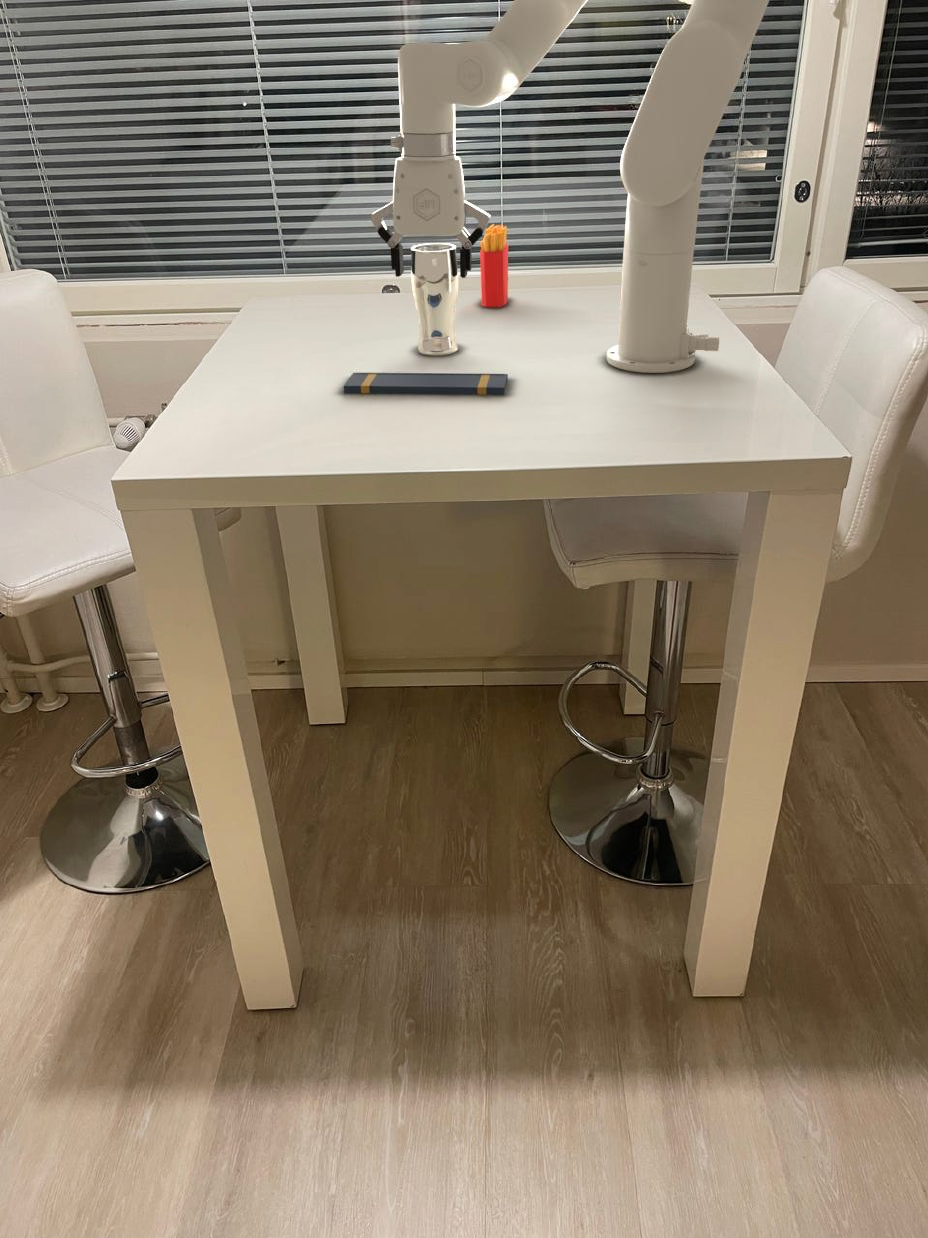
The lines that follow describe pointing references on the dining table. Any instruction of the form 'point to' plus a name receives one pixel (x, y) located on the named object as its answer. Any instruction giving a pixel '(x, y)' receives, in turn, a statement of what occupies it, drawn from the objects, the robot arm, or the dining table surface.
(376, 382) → the blue striped flat box
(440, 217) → the robot arm
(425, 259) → the beer glass
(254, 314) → the dining table surface
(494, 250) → the french fries
